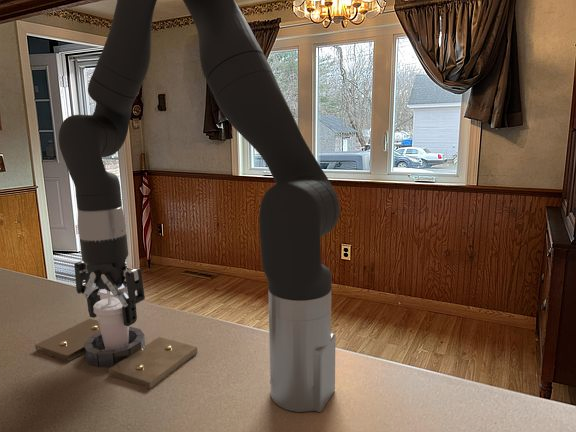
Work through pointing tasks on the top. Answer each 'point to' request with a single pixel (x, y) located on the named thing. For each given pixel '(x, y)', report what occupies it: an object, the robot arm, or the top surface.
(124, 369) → the hinge base
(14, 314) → the top surface
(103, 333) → the smoothie
